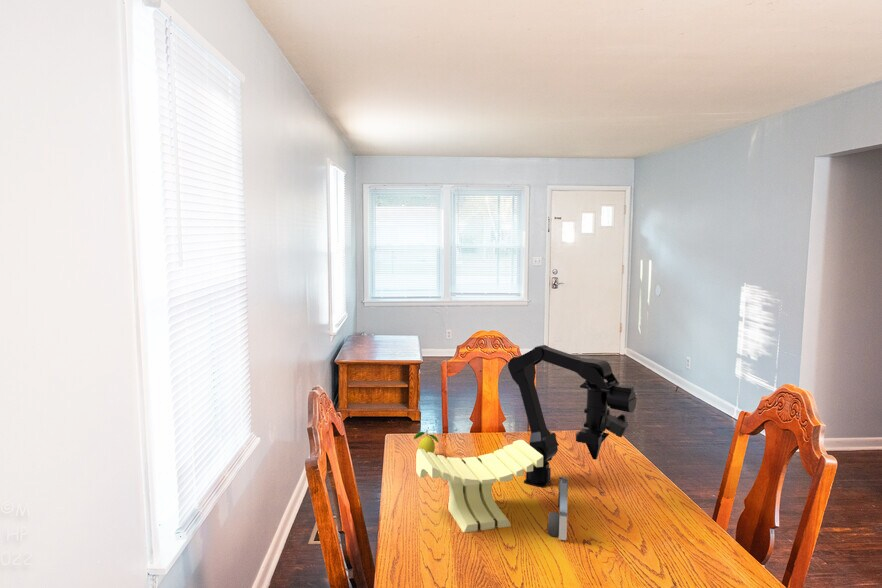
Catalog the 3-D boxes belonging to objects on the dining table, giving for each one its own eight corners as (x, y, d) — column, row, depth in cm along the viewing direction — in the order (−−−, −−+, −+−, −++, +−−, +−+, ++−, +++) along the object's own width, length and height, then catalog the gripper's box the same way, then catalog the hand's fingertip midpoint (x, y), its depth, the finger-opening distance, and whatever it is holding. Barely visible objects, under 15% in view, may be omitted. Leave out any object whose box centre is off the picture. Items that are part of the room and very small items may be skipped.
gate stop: (546, 534, 142) (546, 515, 142) (550, 529, 145) (550, 510, 144) (557, 538, 141) (558, 518, 140) (561, 532, 143) (562, 513, 143)
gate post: (556, 507, 157) (557, 479, 157) (559, 503, 159) (560, 476, 159) (565, 509, 156) (566, 481, 155) (568, 506, 158) (569, 478, 157)
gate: (559, 507, 156) (560, 482, 156) (565, 507, 156) (566, 483, 155) (558, 539, 139) (559, 511, 138) (566, 540, 139) (567, 512, 138)
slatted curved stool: (516, 496, 164) (518, 436, 162) (541, 521, 149) (543, 456, 147) (415, 508, 155) (416, 444, 154) (431, 537, 140) (432, 467, 139)
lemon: (413, 458, 191) (413, 429, 190) (422, 453, 196) (423, 425, 195) (429, 462, 188) (430, 433, 187) (439, 457, 193) (439, 428, 192)
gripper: (618, 418, 148) (615, 476, 149) (633, 402, 164) (631, 454, 165) (576, 411, 153) (574, 467, 155) (595, 396, 170) (593, 447, 171)
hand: (594, 459), depth 161 cm, fingers closed
